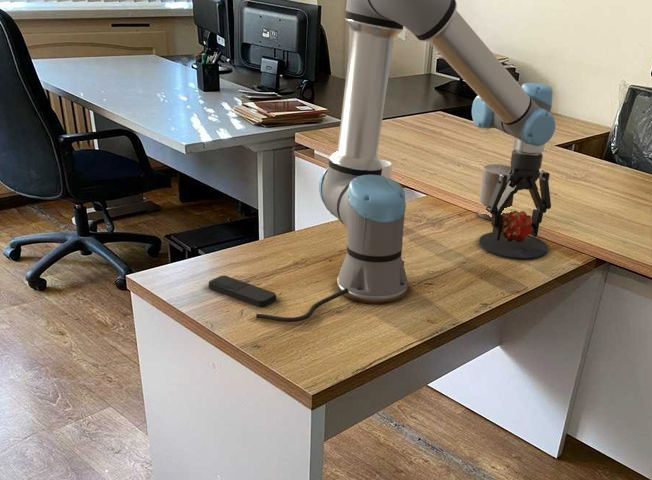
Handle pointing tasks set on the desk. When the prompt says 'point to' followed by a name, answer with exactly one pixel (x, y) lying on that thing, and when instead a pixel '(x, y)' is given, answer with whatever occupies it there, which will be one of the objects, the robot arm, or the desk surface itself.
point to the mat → (514, 247)
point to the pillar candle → (491, 184)
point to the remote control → (242, 291)
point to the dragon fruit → (516, 226)
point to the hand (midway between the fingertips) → (514, 236)
